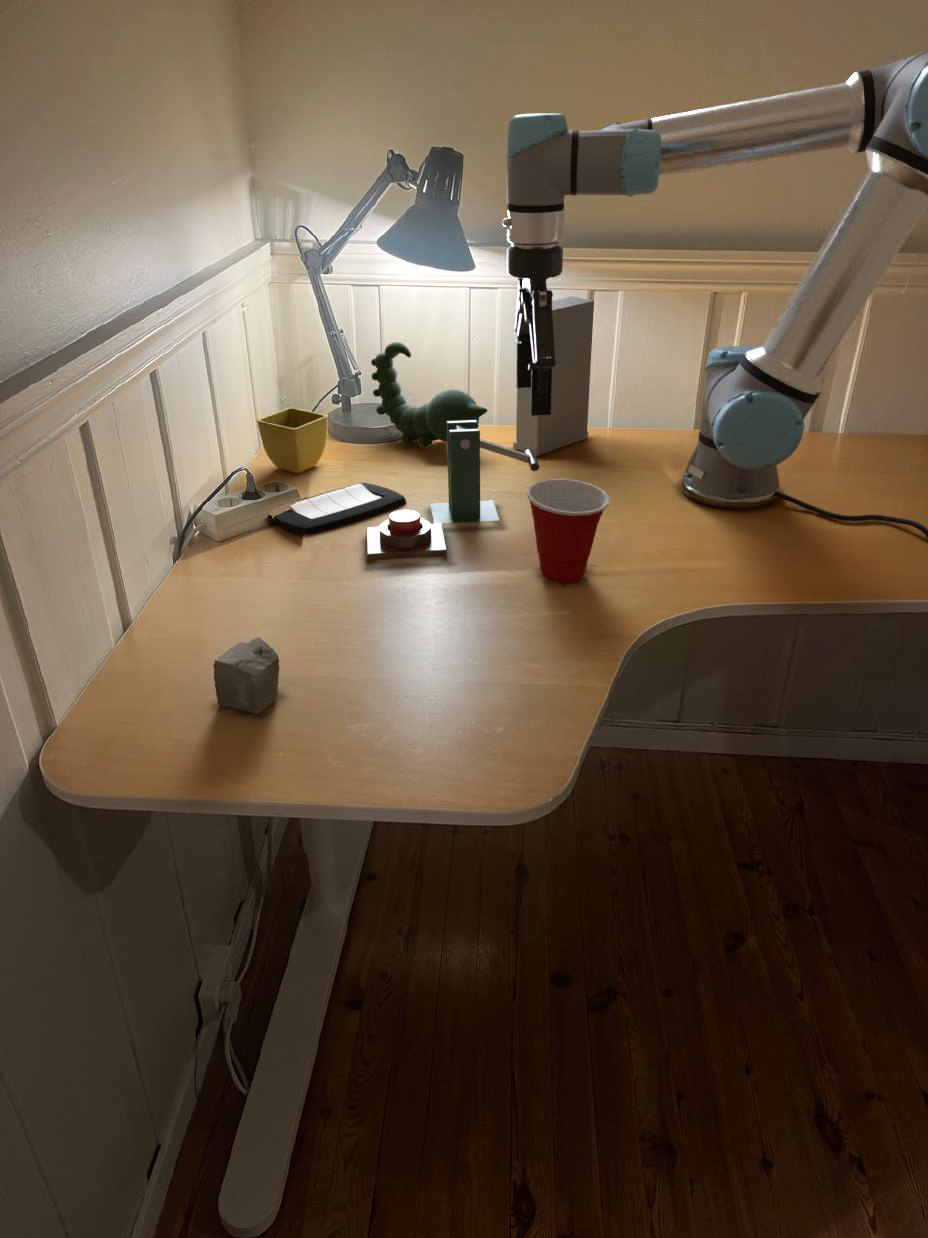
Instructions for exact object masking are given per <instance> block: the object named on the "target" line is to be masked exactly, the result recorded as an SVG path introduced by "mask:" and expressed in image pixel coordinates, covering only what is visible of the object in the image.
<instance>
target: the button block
mask: <svg viewBox="0 0 928 1238" xmlns="http://www.w3.org/2000/svg"><path fill="white" fill-rule="evenodd" d="M420 524H421V529H420V530H419V531H418V532H415V533H411V534H397V533H392V532H391V531H390V528H389V518H388V519H385V520H384V521H382V522H381V523H380V524H379V525H378V526H369V527H368V526H367V527H366V558H367V561H368V562H369V561H385V560H386V561H387V560H405V559H425V558H441V557H444V558H445V557H447V556H448V550H447V545H446V539H445V534H444V528H443V524H441V523H440V524H434V523H431V522H430V521H428V520H427V519H426V518H424V517H420Z"/></svg>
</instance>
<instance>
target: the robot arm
mask: <svg viewBox="0 0 928 1238" xmlns="http://www.w3.org/2000/svg"><path fill="white" fill-rule="evenodd" d="M568 128H569V126H568V124H567V117H566V115H565V114H563V113H558V112H555V113H554V112H552V113H551V112H549V113H545V112H543V113H541V112H540V113H520V114H515V115H514V116H512V117H511V118H510V120H509V121H508V125H507V142H506V153H505V159H506V161H505V162H506V210H507V214H506V215H507V216H508V217H506V218H503V220H502V225H503V227H507V231H506V237H507V238H506V240H507V242H508V243H510V244H511V245H509V246H508V247H507V248H506V273H507V275H508V276H509V277H512V278H515V279H517V294H516V307H515V318H514V319H515V321H514V328H513V332H514V335H515V340H516V342H517V343H516V368H515V369H516V370H515V371H516V378H515V379H516V382H515V383H516V384H515V385H516V389H517V388H529V387H531V416H537V415H551V388H552V367H555V365H556V361H555V350H554V333H553V315H552V301H553V297H554V293H553V291H552V289H548V287H547V285H548V284H547V280H548V279H550V278H552V279H553V278H556V277H558V276H560V275H562V273H563V266H564V264H563V262H564V261H563V259H564V248H563V247H562V245H561V244H560V243H562V242H563V241H564V236H565V235H564V234H565V197H566V196H575V197H576V196H627V197H629V198H632V197H634V196H639V195H640V196H641V195H642V196H643V195H651V194H653V193H655V192H656V190H657V189H658V186H659V180H660V178H664V177H669V176H677V175H682V174H688V173H694V172H699V171H700V172H701V171H706V170H712V169H719V168H724V167H730V166H736V165H737V166H738V165H742V164H743V165H744V164H749V163H754V162H761V161H766V160H772V159H773V160H774V159H779V158H785V157H791V156H796V155H797V156H798V155H802V154H809V153H815V152H821V151H827V150H832V149H839V148H846V149H847V150H848V151H849V152H850V153H852V154H857V153H864V152H865V155H866V162H867V170H866V172H865V173H864V175H863V177H862V178H861V180H860V182H859V183H858V185H857V186H856V188H855V190H854V191H853V193H852V195H851V197H850V198H849V200H848V202H847V204H846V205H845V207H844V208H843V210H842V212H841V214H840V215H839V217H838V218H837V220H836V222H835V223H834V224H833V226H832V229H831V230H830V232H829V233H828V234H827V235H828V236H827V237H826V238H825V240H824V242H823V244H822V245H821V247H820V248H819V250H818V252H817V253H816V255H815V257H814V259H813V260H812V262H811V263H810V265H809V266H808V268H807V270H806V272H805V273H804V276H803V277H802V279H801V281H800V282H799V284H798V286H797V287H796V288H795V290H794V292H793V294H792V295H791V297H790V299H789V301H788V302H787V303H786V306H785V307H784V308H783V311H781V314H780V315H779V317H778V318H777V320H776V322H775V324H774V326H773V328H772V329H771V331H770V332H769V334H768V336H767V337H766V339H765V341H764V342H763V344H761V345H759V346H749V345H733V346H732V345H730V346H719V347H715V348H714V349H712V350H711V351H710V352H709V354H708V357H707V362H706V365H705V366H704V369H705V380H704V388H703V397H702V404H701V411H700V412H701V413H700V421H699V430H698V432H699V433H698V439H697V444H696V446H695V448H694V450H693V452H692V455H691V457H690V458H689V461H688V463H687V465H686V467H685V470H684V472H683V474H682V479H681V485H680V488H681V491H682V493H683V494H684V495H685V496H686V497H688V498H689V499H690V500H692V501H695V502H698V503H700V504H703V505H707V506H710V507H715V508H722V509H729V510H747V509H757V508H762V507H765V506H768V505H770V504H773V503H774V502H775V501H776V500H777V499H778V498H780V499H782V500H784V501H787V502H790V503H792V504H794V505H797V506H798V507H801V508H804V509H806V510H808V511H812V512H814V513H816V514H819V515H821V516H825V517H826V518H831V519H833V520H838V521H847V522H860V521H881V522H882V521H883V522H888V523H894V524H902V525H906V526H910V527H913V528H915V529H917V530H919V531H920V532H922V533H923V535H924V536H926V538H927V539H928V528H927V527H926V526H925V525H923V524H921V523H920V522H918V521H916V520H911V519H909V518H901V517H894V516H888V515H883V514H862V515H861V514H859V515H845V514H840V513H834V512H831V511H828V510H826V509H823V508H821V507H820V508H819V507H817V506H815V505H812V504H809V503H807V502H805V501H802V500H800V499H799V498H798V499H797V498H795V497H793V496H791V495H788V494H785V493H783V492H781V491H780V486H781V483H780V477H779V471H778V466H777V465H779V464H781V463H783V462H784V461H786V460H787V459H789V458H790V457H791V456H792V455H793V454H794V453H795V451H796V450H797V449H798V447H799V445H800V443H801V442H802V438H803V434H804V430H805V420H804V419H805V418H806V417H807V415H808V413H809V412H810V410H812V408H813V406H814V405H815V402H816V401H817V400H818V398H819V397H820V395H821V393H822V386H821V382H820V379H819V378H820V374H821V372H822V371H823V369H824V368H825V366H826V365H827V363H828V362H829V360H830V359H831V357H832V355H833V354H834V352H835V351H836V350H837V348H838V347H839V345H840V343H841V342H842V340H843V338H844V337H845V336H846V333H847V332H848V331H849V329H850V327H851V326H852V324H853V323H854V321H855V320H856V318H857V316H858V315H859V313H860V312H861V310H862V308H864V306H865V304H866V302H867V301H868V300H869V298H870V296H871V295H872V293H873V291H874V290H875V288H876V287H877V285H878V284H879V283H880V281H881V280H882V277H883V276H884V275H885V273H886V271H887V270H888V268H889V267H890V265H891V264H892V262H893V261H894V259H895V257H896V256H897V255H898V253H899V251H900V250H901V248H902V246H903V245H904V243H905V242H906V240H907V239H908V237H909V235H910V234H911V232H912V231H913V230H914V228H915V226H916V225H917V223H918V222H919V220H920V218H921V217H922V215H923V214H924V212H925V211H926V209H927V208H928V50H926V51H923V52H920V53H917V54H914V55H912V56H908V57H906V58H903V59H900V60H897V61H895V62H891V63H887V64H885V65H881V66H878V67H873V68H869V69H865V70H860V71H855V72H853V73H852V74H851V75H850V76H849V78H848V79H847V80H846V81H845V82H842V83H841V82H840V83H836V84H830V85H825V86H820V87H814V88H813V87H812V88H809V89H803V90H798V91H793V92H786V93H781V94H777V95H771V96H766V97H765V96H764V97H760V98H754V99H749V100H743V101H739V102H732V103H727V104H722V105H715V106H710V107H705V108H700V109H695V110H690V111H685V112H678V113H673V114H667V115H662V116H656V117H651V118H648V119H641V120H635V121H629V122H623V123H622V122H616V123H611V124H606V125H604V126H603V127H602V128H600V129H598V130H596V129H595V130H573V129H568ZM530 341H531V343H530ZM518 342H520V343H518ZM541 357H545V358H542V359H540V358H541Z"/></svg>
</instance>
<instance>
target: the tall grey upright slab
mask: <svg viewBox="0 0 928 1238" xmlns="http://www.w3.org/2000/svg"><path fill="white" fill-rule="evenodd" d="M594 310H595V300H593V299H592V300H591V299H587V298H583V297H582V298H581V297H575V296H568V297H564V298H558V299H554V300H552V315H553V333H554V350H555V361H556V365H555V367H552V388H551V415H537V416H531V387H529V388H517V387H516V428H515V429H516V430H515V431H516V432H515V433H516V437H515V438H516V439H515V441H513V442H512V443H513V444H512V447H513V448H512V449H514V450H516V451H520V452H523V453H525V451H526V450H527V449H531V450H532V451H533V453H534V455H535V457H539V456H540V455H544V454H546V453H549V452H552V451H554V450H557V449H560V448H563V447H565V446H569V445H571V444H574V443H577V442H580V441H585V439H589V431H588V423H589V406H590V386H591V385H590V384H591V370H592V369H591V366H592V350H593V349H592V347H593V331H594V330H593V329H594ZM517 343H520V342H517ZM530 343H531V341H530ZM542 358H545V357H541V358H540V359H542Z"/></svg>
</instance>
